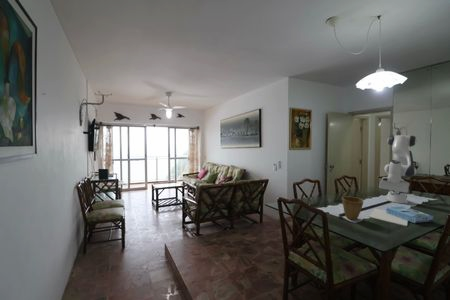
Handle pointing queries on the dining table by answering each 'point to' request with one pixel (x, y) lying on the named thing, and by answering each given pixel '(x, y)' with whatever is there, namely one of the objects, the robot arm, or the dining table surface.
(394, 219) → the white flat board
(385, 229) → the dining table surface
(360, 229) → the dining table surface
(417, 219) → the gum box
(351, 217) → the plant pot
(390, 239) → the dining table surface
